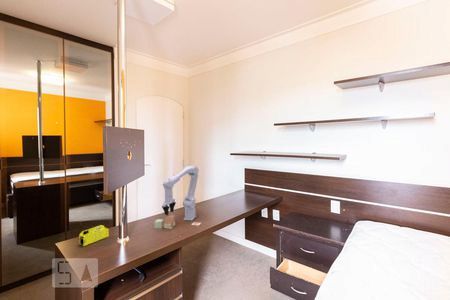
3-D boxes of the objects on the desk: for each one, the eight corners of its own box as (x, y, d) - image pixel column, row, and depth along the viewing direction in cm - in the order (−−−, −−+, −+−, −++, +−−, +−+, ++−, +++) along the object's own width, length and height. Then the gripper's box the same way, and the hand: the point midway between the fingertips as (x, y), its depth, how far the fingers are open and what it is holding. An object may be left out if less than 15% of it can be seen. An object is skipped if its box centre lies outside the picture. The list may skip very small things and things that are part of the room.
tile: (194, 222, 173) (193, 221, 173) (201, 223, 171) (201, 222, 171) (191, 224, 168) (191, 224, 168) (198, 225, 167) (198, 224, 167)
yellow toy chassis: (104, 235, 152) (103, 223, 151) (109, 237, 149) (108, 225, 148) (79, 245, 138) (78, 232, 137) (84, 247, 135) (83, 234, 135)
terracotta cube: (168, 221, 168) (168, 214, 168) (174, 221, 167) (174, 215, 167) (165, 223, 163) (165, 217, 163) (171, 224, 162) (171, 217, 162)
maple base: (168, 225, 169) (168, 220, 169) (175, 226, 167) (175, 221, 167) (163, 228, 164) (163, 223, 163) (170, 229, 161) (170, 224, 161)
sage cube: (157, 225, 168) (157, 219, 168) (163, 225, 168) (163, 219, 167) (154, 228, 163) (154, 221, 163) (161, 228, 163) (161, 221, 162)
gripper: (169, 193, 174) (169, 210, 174) (158, 197, 160) (159, 216, 160) (177, 193, 172) (177, 210, 172) (167, 198, 158) (167, 216, 159)
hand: (169, 213), depth 166 cm, fingers open, 7 cm apart
